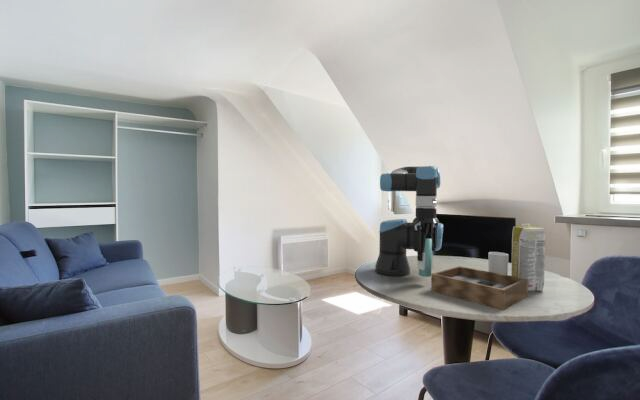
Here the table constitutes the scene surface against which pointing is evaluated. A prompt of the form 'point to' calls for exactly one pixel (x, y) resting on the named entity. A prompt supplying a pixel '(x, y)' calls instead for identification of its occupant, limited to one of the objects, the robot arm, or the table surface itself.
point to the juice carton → (529, 255)
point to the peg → (427, 258)
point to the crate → (480, 286)
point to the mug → (498, 263)
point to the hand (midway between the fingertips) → (425, 268)
